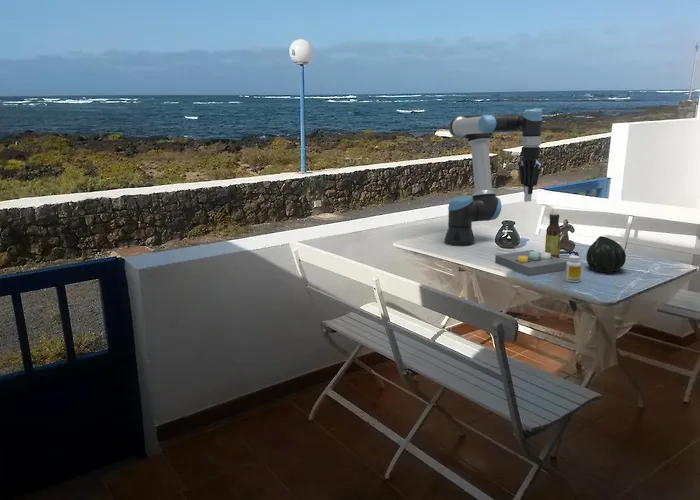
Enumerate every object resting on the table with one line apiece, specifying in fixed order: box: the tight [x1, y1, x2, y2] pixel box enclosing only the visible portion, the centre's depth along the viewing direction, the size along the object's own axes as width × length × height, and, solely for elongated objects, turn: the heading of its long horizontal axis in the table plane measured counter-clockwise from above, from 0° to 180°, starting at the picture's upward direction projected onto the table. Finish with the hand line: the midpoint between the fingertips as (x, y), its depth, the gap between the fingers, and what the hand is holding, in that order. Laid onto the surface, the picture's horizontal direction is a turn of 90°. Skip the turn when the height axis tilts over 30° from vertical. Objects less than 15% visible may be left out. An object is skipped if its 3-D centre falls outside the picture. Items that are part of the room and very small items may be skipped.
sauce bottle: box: [544, 213, 562, 259], centre depth 237 cm, size 7×6×20 cm
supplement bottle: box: [564, 254, 582, 283], centre depth 205 cm, size 5×5×10 cm
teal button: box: [529, 250, 541, 262], centre depth 224 cm, size 4×4×4 cm
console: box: [494, 249, 569, 277], centre depth 226 cm, size 22×20×4 cm
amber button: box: [518, 255, 528, 263], centre depth 222 cm, size 4×4×4 cm
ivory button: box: [540, 251, 551, 260], centre depth 226 cm, size 4×4×4 cm
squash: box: [585, 235, 627, 274], centre depth 217 cm, size 14×15×15 cm
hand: (527, 201), depth 231 cm, fingers closed
